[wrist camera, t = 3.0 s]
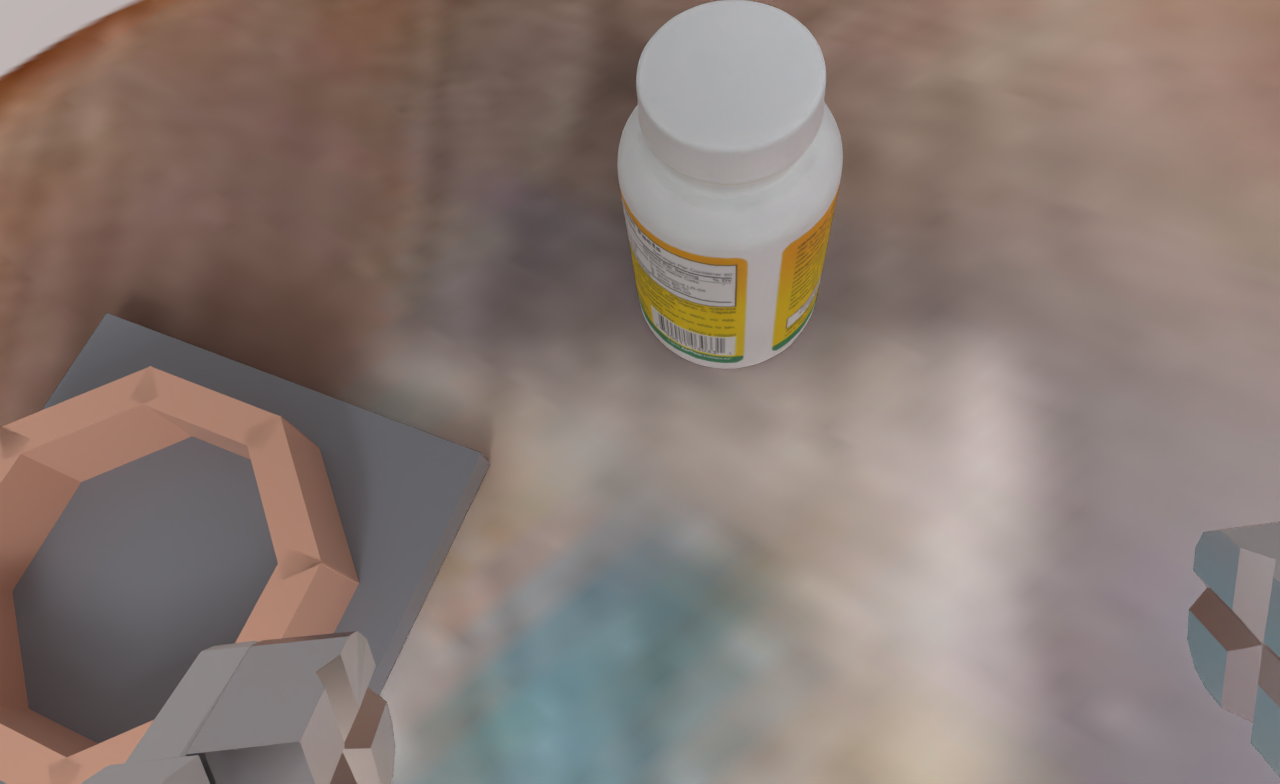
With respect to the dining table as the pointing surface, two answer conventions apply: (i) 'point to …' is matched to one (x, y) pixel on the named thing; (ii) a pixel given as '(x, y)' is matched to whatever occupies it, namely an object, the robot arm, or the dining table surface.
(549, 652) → the dining table surface
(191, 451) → the collar holder
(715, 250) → the supplement bottle
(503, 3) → the dining table surface
